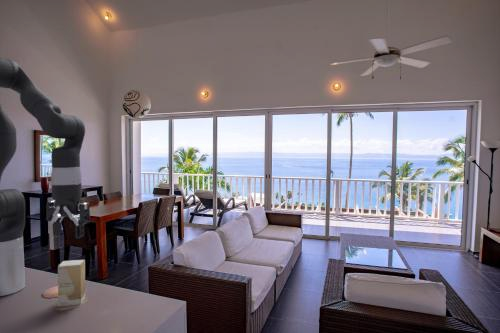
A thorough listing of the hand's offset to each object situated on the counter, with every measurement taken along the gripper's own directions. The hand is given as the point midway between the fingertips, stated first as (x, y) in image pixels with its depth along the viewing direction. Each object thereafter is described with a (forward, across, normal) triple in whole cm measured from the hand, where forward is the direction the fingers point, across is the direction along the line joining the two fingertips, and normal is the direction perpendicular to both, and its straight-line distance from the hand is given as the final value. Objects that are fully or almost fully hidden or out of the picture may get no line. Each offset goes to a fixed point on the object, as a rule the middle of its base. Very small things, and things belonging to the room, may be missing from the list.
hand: (68, 236), depth 86 cm
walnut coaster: (+21, 0, 0) cm, 21 cm away
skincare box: (+20, +1, 0) cm, 20 cm away
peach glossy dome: (+20, -10, +4) cm, 23 cm away
